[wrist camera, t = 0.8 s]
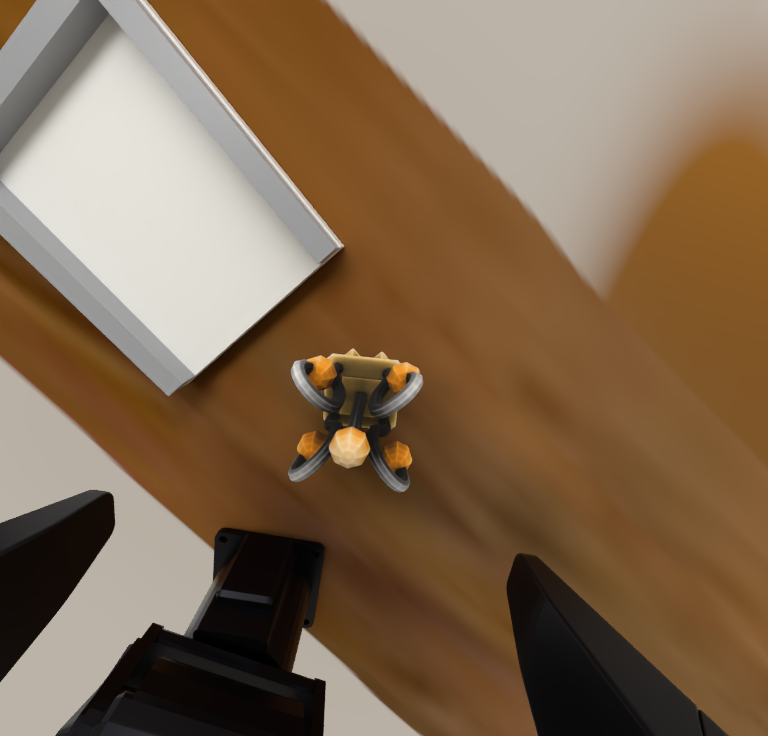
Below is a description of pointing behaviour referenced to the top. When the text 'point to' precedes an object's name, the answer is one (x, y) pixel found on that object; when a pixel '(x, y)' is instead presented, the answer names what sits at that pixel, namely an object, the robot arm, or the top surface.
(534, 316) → the top surface
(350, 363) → the figurine
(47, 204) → the tray
